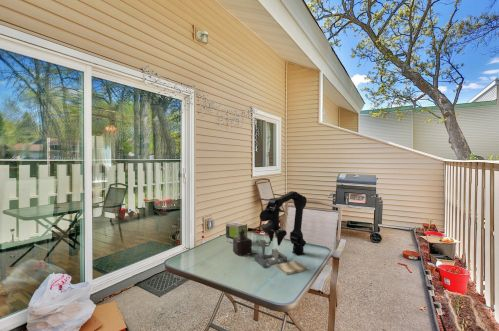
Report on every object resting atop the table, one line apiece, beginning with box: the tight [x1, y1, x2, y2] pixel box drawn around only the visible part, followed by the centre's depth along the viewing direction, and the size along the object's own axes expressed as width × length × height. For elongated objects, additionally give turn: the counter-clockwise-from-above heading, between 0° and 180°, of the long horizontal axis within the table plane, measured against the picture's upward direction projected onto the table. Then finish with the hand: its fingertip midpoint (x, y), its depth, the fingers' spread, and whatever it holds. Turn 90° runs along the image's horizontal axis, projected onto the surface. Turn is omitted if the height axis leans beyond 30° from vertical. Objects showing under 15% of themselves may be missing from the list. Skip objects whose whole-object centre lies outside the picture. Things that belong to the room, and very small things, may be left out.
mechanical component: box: [255, 239, 272, 256], centre depth 172 cm, size 3×10×10 cm, turn 79°
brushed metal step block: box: [266, 248, 280, 265], centre depth 159 cm, size 7×3×8 cm, turn 115°
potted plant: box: [232, 229, 253, 256], centre depth 176 cm, size 16×11×18 cm
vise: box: [254, 251, 288, 268], centre depth 161 cm, size 17×12×4 cm
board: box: [275, 260, 308, 275], centre depth 151 cm, size 14×12×1 cm
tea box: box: [225, 221, 248, 244], centre depth 200 cm, size 15×10×15 cm
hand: (275, 243), depth 160 cm, fingers open, 9 cm apart
